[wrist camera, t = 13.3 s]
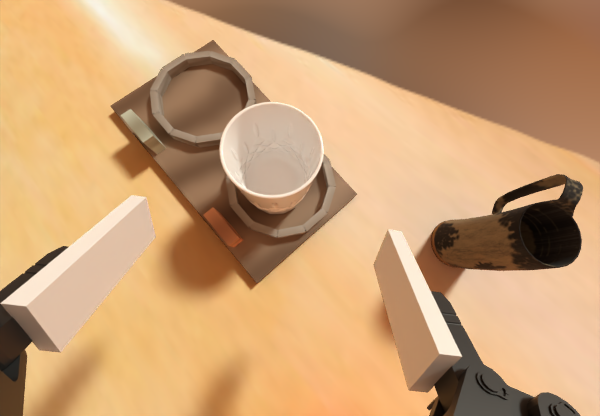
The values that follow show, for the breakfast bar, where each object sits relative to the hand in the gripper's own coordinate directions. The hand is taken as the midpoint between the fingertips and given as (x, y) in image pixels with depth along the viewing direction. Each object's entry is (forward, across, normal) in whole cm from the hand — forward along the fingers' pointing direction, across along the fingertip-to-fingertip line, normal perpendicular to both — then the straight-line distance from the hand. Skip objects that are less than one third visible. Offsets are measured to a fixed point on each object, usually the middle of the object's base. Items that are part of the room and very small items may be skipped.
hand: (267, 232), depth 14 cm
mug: (+13, +21, -8) cm, 26 cm away
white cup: (+15, -1, -5) cm, 15 cm away
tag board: (+18, -6, -3) cm, 19 cm away
